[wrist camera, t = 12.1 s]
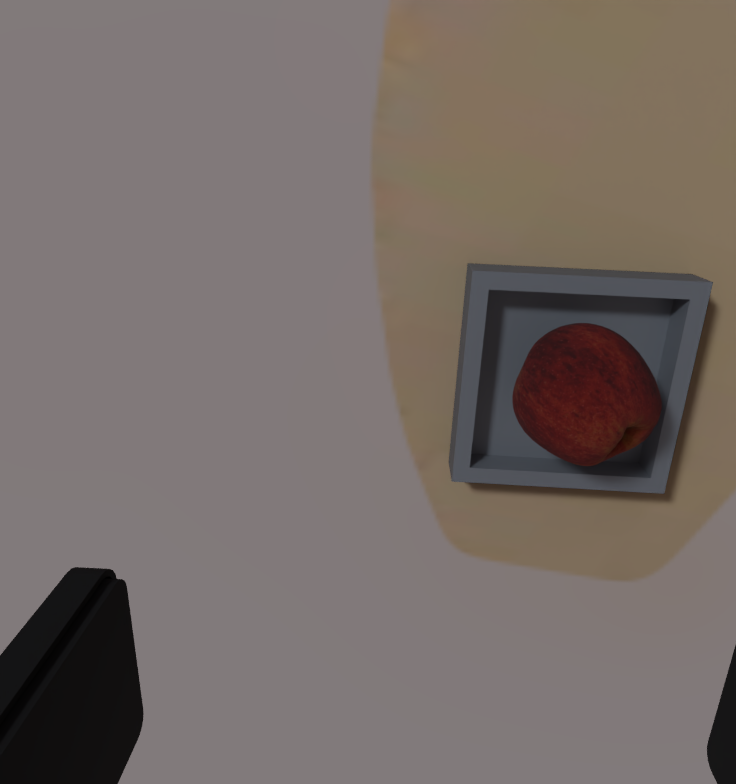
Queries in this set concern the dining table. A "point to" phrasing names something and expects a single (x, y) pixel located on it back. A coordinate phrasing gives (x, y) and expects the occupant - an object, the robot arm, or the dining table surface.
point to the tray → (531, 322)
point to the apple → (586, 394)
